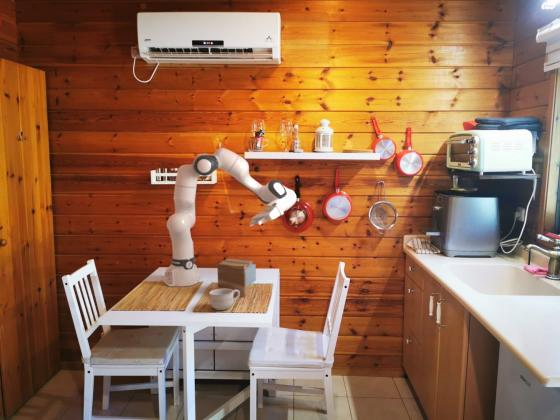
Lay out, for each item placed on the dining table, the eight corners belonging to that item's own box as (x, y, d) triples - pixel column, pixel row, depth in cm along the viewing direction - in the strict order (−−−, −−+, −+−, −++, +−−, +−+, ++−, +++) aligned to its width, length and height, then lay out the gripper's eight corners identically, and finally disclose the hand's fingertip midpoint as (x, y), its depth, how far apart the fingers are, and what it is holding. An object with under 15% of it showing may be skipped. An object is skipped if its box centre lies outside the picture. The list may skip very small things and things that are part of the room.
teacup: (210, 313, 195) (209, 295, 194) (209, 305, 206) (208, 288, 204) (242, 310, 198) (241, 293, 197) (239, 302, 208) (238, 286, 207)
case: (249, 279, 245) (249, 263, 244) (255, 280, 244) (255, 264, 243) (239, 287, 232) (239, 270, 231) (246, 287, 231) (245, 270, 229)
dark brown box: (228, 287, 231) (228, 258, 229) (254, 289, 227) (253, 260, 225) (218, 294, 220) (217, 264, 218) (244, 297, 215) (243, 266, 213)
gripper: (260, 208, 246) (242, 221, 239) (279, 202, 228) (260, 217, 221) (266, 217, 247) (248, 231, 240) (285, 213, 229) (266, 227, 222)
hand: (254, 224), depth 230 cm, fingers open, 8 cm apart
